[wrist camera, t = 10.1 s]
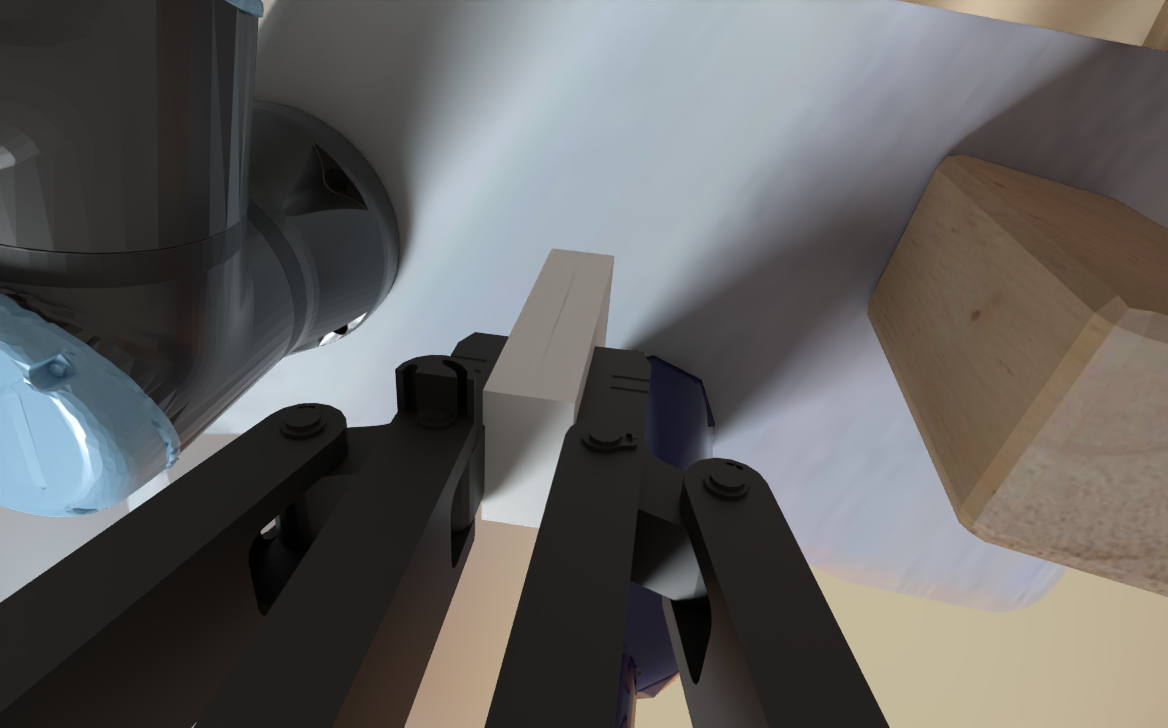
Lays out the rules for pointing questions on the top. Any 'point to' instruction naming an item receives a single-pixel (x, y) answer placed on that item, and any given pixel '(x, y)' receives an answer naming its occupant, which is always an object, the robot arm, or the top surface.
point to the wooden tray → (1077, 17)
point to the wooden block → (1037, 364)
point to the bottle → (648, 655)
